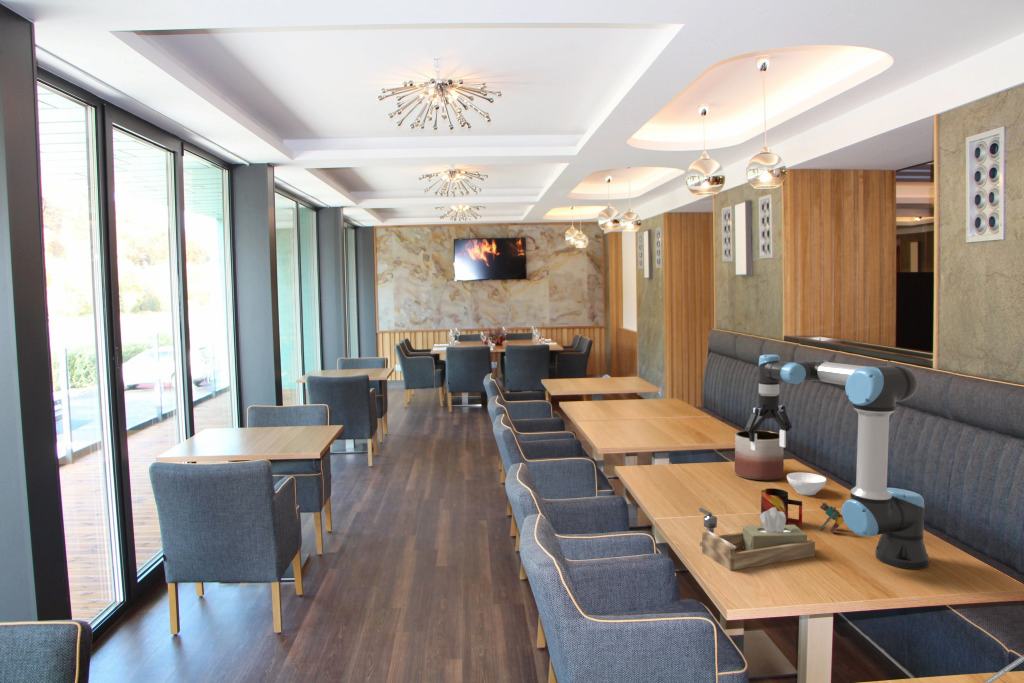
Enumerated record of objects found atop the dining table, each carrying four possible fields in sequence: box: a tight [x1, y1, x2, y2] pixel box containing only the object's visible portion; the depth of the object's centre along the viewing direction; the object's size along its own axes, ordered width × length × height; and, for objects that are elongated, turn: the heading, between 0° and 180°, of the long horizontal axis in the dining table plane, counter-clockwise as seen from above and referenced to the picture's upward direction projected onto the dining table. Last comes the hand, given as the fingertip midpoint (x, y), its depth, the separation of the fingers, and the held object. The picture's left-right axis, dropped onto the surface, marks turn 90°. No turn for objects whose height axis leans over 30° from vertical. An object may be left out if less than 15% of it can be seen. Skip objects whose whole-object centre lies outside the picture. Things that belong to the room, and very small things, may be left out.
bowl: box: [786, 471, 827, 496], centre depth 285 cm, size 16×16×7 cm
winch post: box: [698, 507, 718, 547], centre depth 229 cm, size 8×5×12 cm, turn 18°
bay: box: [701, 529, 816, 571], centre depth 220 cm, size 15×34×8 cm, turn 108°
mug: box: [760, 487, 803, 525], centre depth 249 cm, size 10×14×12 cm
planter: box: [734, 429, 785, 482], centre depth 313 cm, size 22×22×20 cm
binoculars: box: [819, 502, 845, 534], centre depth 241 cm, size 9×9×10 cm
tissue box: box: [742, 507, 808, 551], centre depth 222 cm, size 19×10×16 cm, turn 90°
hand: (768, 448), depth 254 cm, fingers open, 13 cm apart
